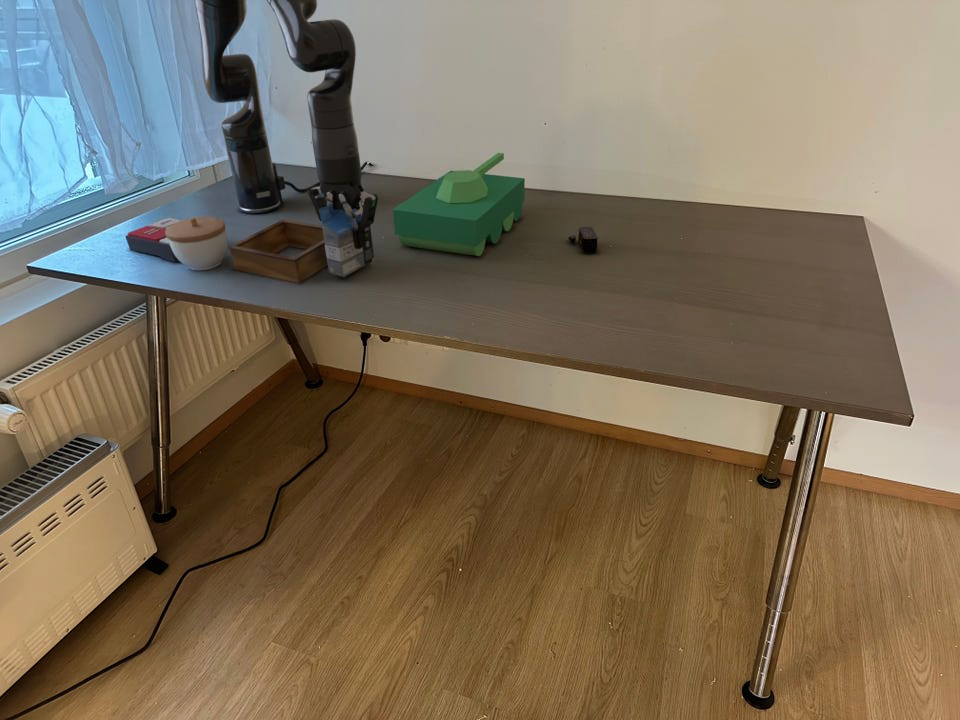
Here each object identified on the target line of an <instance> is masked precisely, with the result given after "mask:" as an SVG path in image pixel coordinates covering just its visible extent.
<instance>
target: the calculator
mask: <svg viewBox="0 0 960 720" xmlns="http://www.w3.org/2000/svg"><path fill="white" fill-rule="evenodd" d="M179 221H182V219H177V218H171V217H167V218H164V219H162V220H159V221H156V222H153V223H151V224H149V225H145V226H143V227H139V228H137V229H134V230H132V231H128V232H127V235H125V236H124V237H125V239H126V242H127V245H128V248H129V250H131V251H135V252H140V253H145V254H149V255H152V256H153V255H154V256H157V257H161V258H162V259H163V260H165V261H169V262H172V263H178V262H180V261H179V260H178V259H177V258H176V256H175V255H174V253H173V251H172V249H171V247H170V244H169V241H168V238H167V237H166V234H165V231H166V229H167V228H168V227H169V226H170V225H172V224H174V223H177V222H179Z"/></svg>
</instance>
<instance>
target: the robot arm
mask: <svg viewBox="0 0 960 720" xmlns="http://www.w3.org/2000/svg"><path fill="white" fill-rule="evenodd" d="M193 2H194V7H195V13H196V19H197V25H198V32H199V39H200V57H201V73H202V80H203V86H204V90H205V92H206V94H207V96H208V98H209V99H210V100H211V101H212V102H214V103H216V104H217V103H218V104H229V103H236V102H244V103H243V105H242V106H241V108H240V109H238V111H237V112H236V113H233V114H232V115H231V116H229V117H227V118H225V119H223V121H222V122H221V131H222V135H223V140H224V144H225V148H226V153H227V157H228V163H229V166H230V170H231V174H232V179H233V184H234V189H235V192H236V196H237V197H236V198H237V202H238V207H239V211H240V212H241V213H245V214H253V215H254V214H264V213H265V214H266V213H268V212H272V211H275V210H277V209H279V208H280V207H281V206H282V205H281V204H283V202H284V201H283V197H282V191H283V190H286V185H287V186H289V187H291V188H292V189H293V190H294V191H296V192H297V193H305V192H307V194H308V196H309V199H310V201H311V204H312V206H313V208H314V211H315V213H316V216H317V217H318V220H319V222H322V221H321V217H320V212H319V209H321V208H323V207H326V206H329V208H330V210H329V211H330V214H331V215H332V216H333V217H334V216H335V214H337V213H338V212H340V211H341V210H343V211H345V213H346V216H347V218H349V219H350V221H351V224H352V227H353V229H354V230H353V237H354V245H355V248H356V249H361V248H362V247H364V245H365V244H366V235H365V228H366V227H368V226H369V225H370V226H372V224H374V223H375V222H374V221H375V217H376V211H377V207H378V200H379V196H378V194H377V193H373V194H370V193H368V192H366V191H365V190H364V187H363V184H362V185H361V182H362V171H363V170H364V169H365V168H366V166H368V165H369V166H370V167H374V165H373V163H372V162H370V163H369V164H367V162H368V161H365V162H364V163H363V164H361V159H360V151H359V150H360V149H359V142H358V135H357V132H356V131H357V130H356V128H355V127H356V126H355V122H354V120H355V119H354V114H353V105H352V92H353V91H352V90H353V85H354V84H353V83H354V74H355V66H356V59H357V48H356V42H355V38H354V35H353V33H352V31H351V29H350V27H349V26H348V25H347V24H346V23H345V22H344V21H342V20H340V19H335V18H333V19H324V20H316V21H308V20H309V19H311V18H312V17H313V16H314V14H315V13H316V11H317V8H318V0H266V2H267V3H268V5H269V7H270V8H271V10H272V11H273V13H274V15H275V17H276V19H277V22H278V26H279V28H280V31H281V34H282V38H283V40H284V44H285V48H286V52H287V54H288V57H289V59H290V61H291V62H292V64H293V65H295V66H296V67H297V68H298V69H299V70H301V71H303V72H305V73H312V74H313V73H317V72H323V71H325V73H324V77H323V80H322V81H321V82H320V83H319V84H317V85H316V86H313V87H312V88H310V90H308V92H307V94H306V95H307V96H306V99H307V106H308V113H309V119H310V125H311V143H312V149H313V155H314V163H315V167H316V168H315V169H316V174H317V179H318V182H316V183H314V184H313V185H311V186H309V187H306V188H299V187H297V186H295V184H293V183H292V182H290V181H287V180H285V177H284V176H282V175H278V170H277V166H276V165H277V164H276V163H275V162H273V160H272V155H271V151H270V144H269V140H268V135H267V128H266V124H265V119H264V112H263V107H262V100H261V95H260V93H261V92H260V87H259V80H258V73H257V68H256V65H255V63H254V61H253V59H252V57H251V56H250V55H249V54H246V53H238V54H226V55H225V54H224V53H225V51H226V49H227V48H228V46H229V44H231V42H232V41H233V39H234V38H235V37H236V36H237V34H238V33H239V31H240V30H241V28H242V26H243V24H244V22H245V20H246V17H247V12H248V11H247V10H248V9H247V8H248V7H247V6H248V5H247V0H193ZM361 199H362V205H361V203H360V200H361ZM334 209H335V210H334ZM353 209H355V210H354V211H352V210H353ZM356 217H357V218H356ZM357 220H358V221H357Z"/></svg>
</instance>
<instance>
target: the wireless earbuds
mask: <svg viewBox="0 0 960 720" xmlns="http://www.w3.org/2000/svg"><path fill="white" fill-rule="evenodd" d="M567 239H568V241H570V243H572V244H573V243H575V242H576V241H578V244H579V246H580V248H581V251H582V253H583V254H586V255H587V254H595V253H597V251H598V239H599V238H598V235H597V233H596V231H595V229H594V227H593V226H580V227H578V240H577V236H576V235H575V234H571V235H570V236H569V237H568V238H567Z"/></svg>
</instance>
